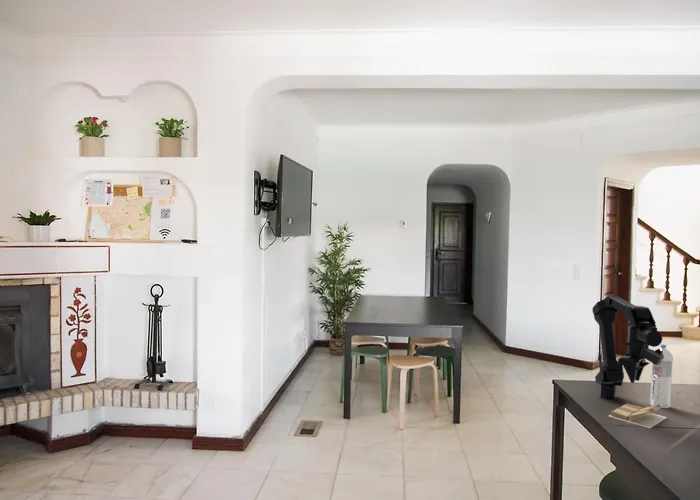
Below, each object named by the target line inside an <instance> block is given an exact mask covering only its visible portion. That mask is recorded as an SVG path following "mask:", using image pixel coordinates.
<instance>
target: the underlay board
mask: <svg viewBox="0 0 700 500" xmlns="http://www.w3.org/2000/svg"><path fill="white" fill-rule="evenodd" d="M608 417H610V418H613V419H617V420H619V421H623V422H627V423H631V424H634V425H637V426H641V427H643V428H647V429H651V428H653V427H655V426H656V425H657V424H659V423H661V422H662V421H664V420H666V419H667V418H668V417H667V416H663V415H659V414H655V413H652V414H650V415H649V416H647V417H644V418H640V419H636V420H631V421H630V420H629V419H628V420H623V419H620V418H617V417H613V416H611V414H609V415H608Z"/></svg>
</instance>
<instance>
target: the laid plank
mask: <svg viewBox="0 0 700 500" xmlns="http://www.w3.org/2000/svg"><path fill="white" fill-rule="evenodd" d="M642 408H643V407H641V406H638V405H635V404H630V403H625V404H623V405H621V406H619V407H617V408H616V409H614V410H611V411H610V415H611V416H613V417H617V418H620V419H623V420H628V419H629V418H628V416H630V415H632V414H633V413H635V412H637V411H639V410H640V409H642ZM613 417H612V418H613ZM620 419H619V420H620ZM623 420H622V421H623Z"/></svg>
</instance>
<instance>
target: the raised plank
mask: <svg viewBox="0 0 700 500" xmlns="http://www.w3.org/2000/svg"><path fill="white" fill-rule="evenodd" d="M661 409H662V408H661V407H660V405H659V404H657V405H651V406H646V407H642V409H640V410H639V411H637V412H635V413H633V414H632V415H630V416H628V418H629V420H630V421H631V420H636V419H640V418H644V417H647V416H649V415H650V414H652V413H653V414H655V412H657V411H658V410H661Z"/></svg>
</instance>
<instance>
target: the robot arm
mask: <svg viewBox="0 0 700 500" xmlns="http://www.w3.org/2000/svg"><path fill="white" fill-rule="evenodd" d="M618 312H620V313H622V314H624V317H625V319H627V320H628V321H629V322H627V324H626V326H627V327H628V341H627V342H625V343H626V346H627V352H625V355H623V356H620V357H619V358H617V352H616V345H615V336H614V327H613V324H614V323H615V320H616V318H617V313H618ZM592 314H593V317H594V321H595V322H596V323H597V325H598V327H599V334H600V342H601V343H600V344H601V353H602V362H601V363H600V365H599V372H598V373H597V374H596V375H595V377H594V381H595V383H597V384H598V385H599V386H600V388H599V389H600V390H599V397H600V398H602V399H605V400H615V399H616V395H617V392H616V391H617V386H619V387H622V385H623V382H624V379H625V373H624V370H625V372H626V375H627V377H628V380H629V381H630V383H632V384H634V383H635V382H636V381H638V382H639V381H640V379H641V376H642V373H643V370H644V368H645V367H646V366H648V365H650V364H651V363H652V365H653V364H655V365H658V364H660V363H661V361H662V359H664V355H663V351H662V350H660V348H657V349H655V350H654V349H652V348H650V347H653V348H656V347H659V346H661V344H662V342H663V337H662V333H661V332H659V331H658V328H657V325H656V320H655V318H654V316H653V313H652V311H651V310H650V308H649V307H647V306H641V305H634V304H633V303H631V302H629V301H627V300H625V299H624V298H622V297H620V296H618V295H608V296H606V297H605V298H603V299H601V300H600V301H597V302H596V303H595V304H594V306H593V307H592ZM647 361H649V362H647Z"/></svg>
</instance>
